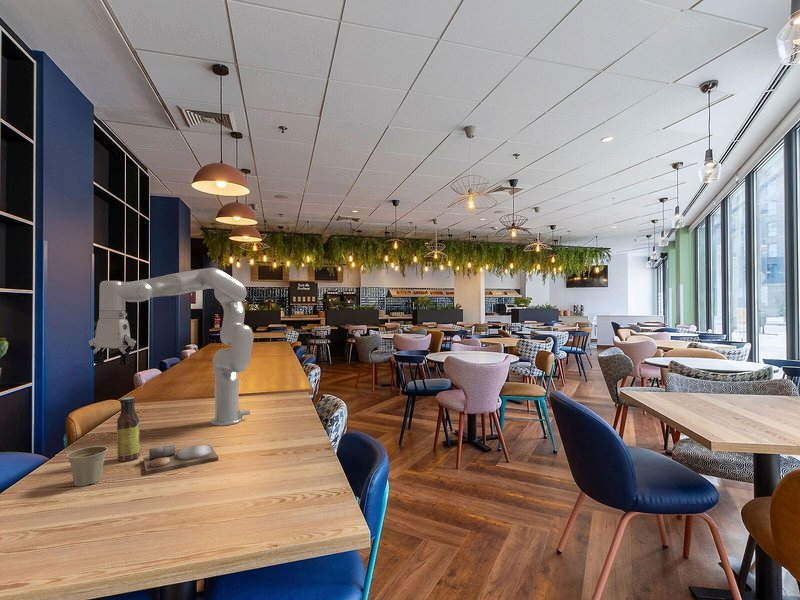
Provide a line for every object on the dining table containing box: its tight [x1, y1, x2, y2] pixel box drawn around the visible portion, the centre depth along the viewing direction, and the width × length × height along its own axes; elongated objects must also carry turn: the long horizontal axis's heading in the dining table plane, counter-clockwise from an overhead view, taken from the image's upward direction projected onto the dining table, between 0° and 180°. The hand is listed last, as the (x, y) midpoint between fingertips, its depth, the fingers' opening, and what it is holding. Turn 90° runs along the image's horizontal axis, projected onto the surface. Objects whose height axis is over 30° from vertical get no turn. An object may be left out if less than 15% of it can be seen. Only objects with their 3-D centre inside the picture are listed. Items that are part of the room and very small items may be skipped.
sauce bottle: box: [116, 396, 141, 462], centre depth 135 cm, size 7×6×20 cm
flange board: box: [143, 444, 219, 476], centre depth 133 cm, size 20×14×4 cm
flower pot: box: [66, 445, 109, 487], centre depth 117 cm, size 9×9×9 cm
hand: (112, 364), depth 144 cm, fingers open, 9 cm apart
